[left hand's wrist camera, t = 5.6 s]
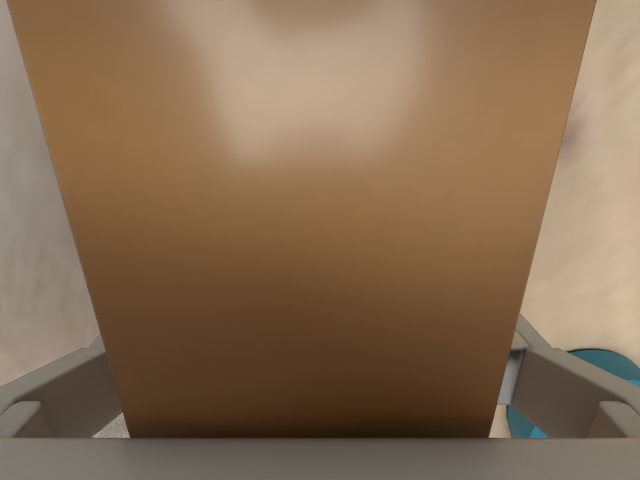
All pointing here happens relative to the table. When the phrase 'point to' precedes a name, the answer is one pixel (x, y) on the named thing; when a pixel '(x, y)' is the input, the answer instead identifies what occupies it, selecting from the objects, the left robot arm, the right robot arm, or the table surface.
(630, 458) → the left robot arm
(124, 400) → the box
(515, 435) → the camera mount
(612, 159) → the table surface
